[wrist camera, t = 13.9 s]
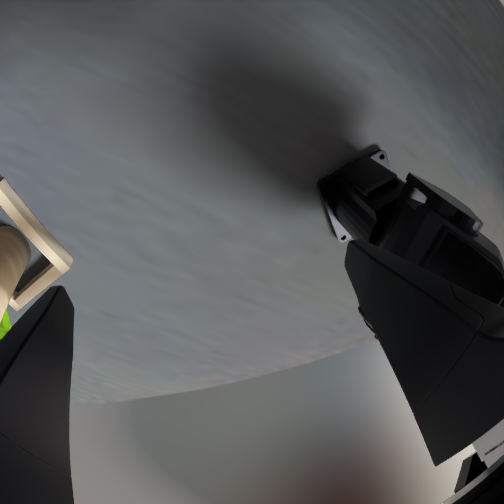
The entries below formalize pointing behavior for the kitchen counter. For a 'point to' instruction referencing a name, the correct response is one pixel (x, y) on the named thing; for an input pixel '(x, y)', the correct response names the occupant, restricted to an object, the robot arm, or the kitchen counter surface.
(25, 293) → the birch collar
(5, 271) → the tall beech pin
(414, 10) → the kitchen counter surface
